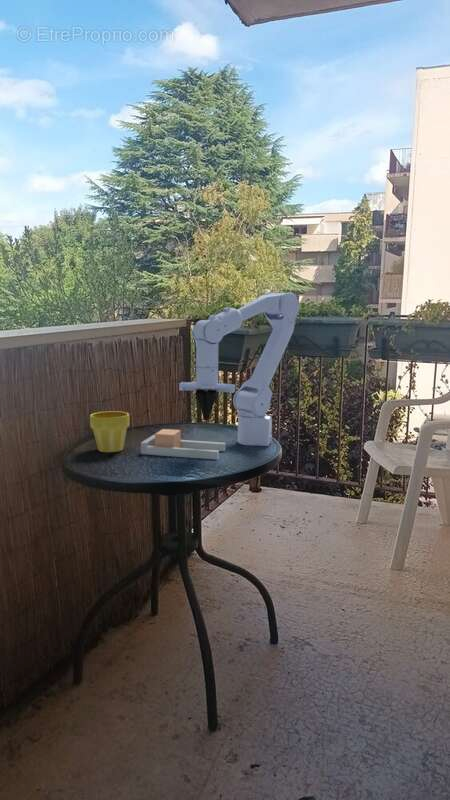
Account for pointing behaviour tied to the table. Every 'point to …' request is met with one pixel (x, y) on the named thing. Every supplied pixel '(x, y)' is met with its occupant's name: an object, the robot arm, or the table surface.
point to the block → (168, 438)
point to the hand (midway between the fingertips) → (206, 418)
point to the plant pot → (109, 429)
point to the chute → (184, 449)
